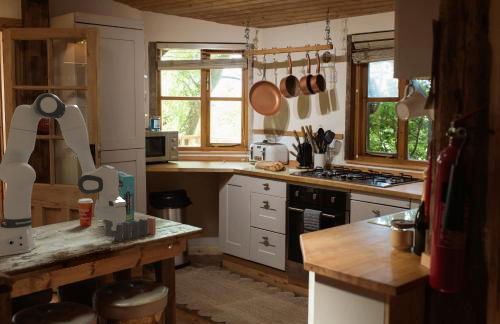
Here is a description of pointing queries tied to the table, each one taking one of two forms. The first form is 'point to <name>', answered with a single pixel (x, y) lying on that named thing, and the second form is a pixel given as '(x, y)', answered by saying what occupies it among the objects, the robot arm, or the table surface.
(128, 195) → the game box
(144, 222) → the tile
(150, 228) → the end tile
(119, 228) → the tile
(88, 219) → the paper cup
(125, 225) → the tile
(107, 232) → the dark grey rectangular block
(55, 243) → the table surface
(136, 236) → the tile
